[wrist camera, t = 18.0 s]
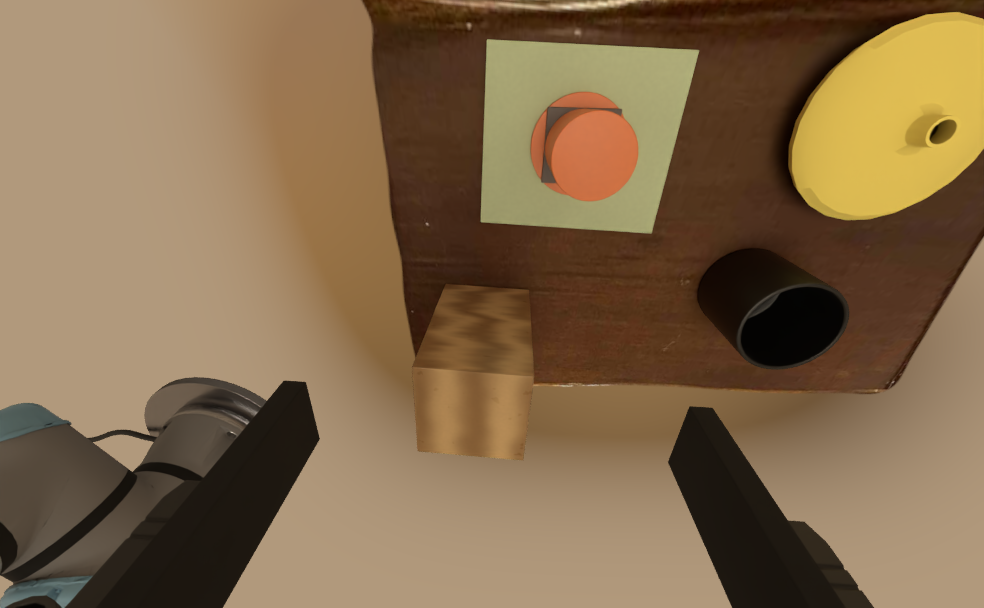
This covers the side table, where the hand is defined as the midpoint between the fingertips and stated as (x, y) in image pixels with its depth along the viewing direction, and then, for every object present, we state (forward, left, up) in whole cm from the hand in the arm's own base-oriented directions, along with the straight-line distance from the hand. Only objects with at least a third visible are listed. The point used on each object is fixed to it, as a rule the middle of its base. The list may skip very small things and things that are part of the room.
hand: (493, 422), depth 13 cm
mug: (+28, -7, -31) cm, 42 cm away
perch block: (-2, -14, -30) cm, 34 cm away
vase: (+32, +10, -31) cm, 45 cm away
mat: (+6, +7, -30) cm, 32 cm away
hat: (+6, +7, -29) cm, 31 cm away
